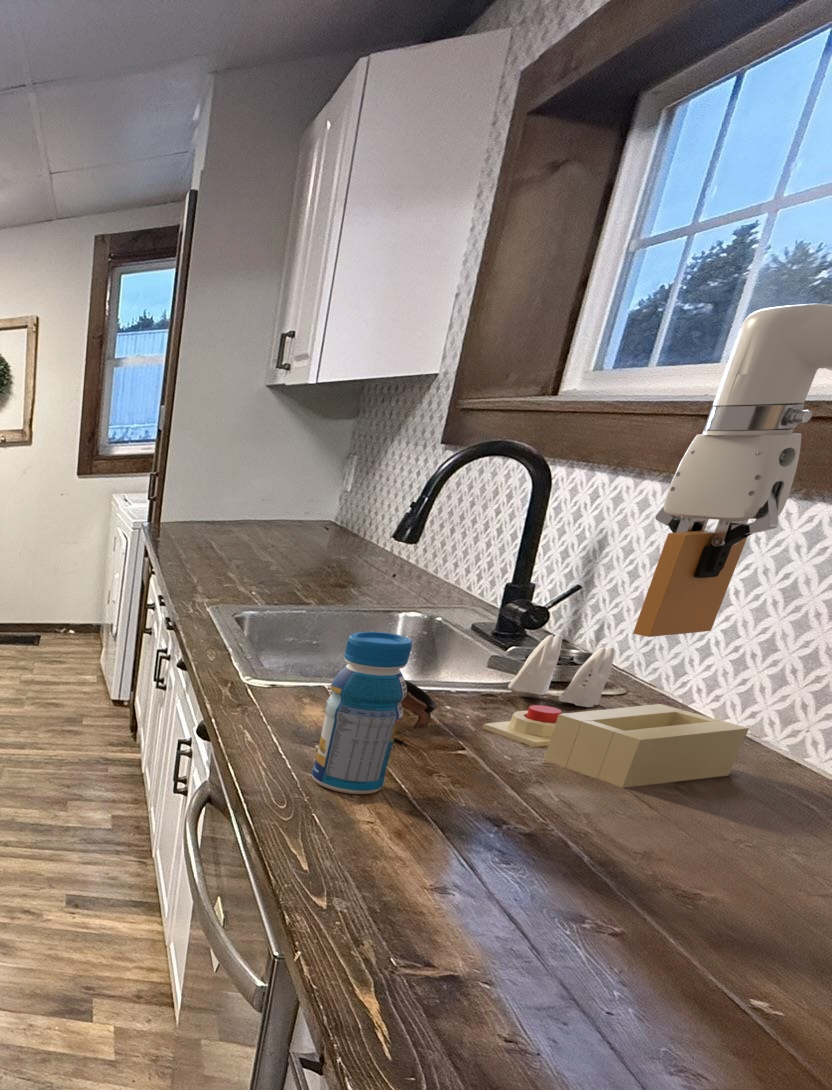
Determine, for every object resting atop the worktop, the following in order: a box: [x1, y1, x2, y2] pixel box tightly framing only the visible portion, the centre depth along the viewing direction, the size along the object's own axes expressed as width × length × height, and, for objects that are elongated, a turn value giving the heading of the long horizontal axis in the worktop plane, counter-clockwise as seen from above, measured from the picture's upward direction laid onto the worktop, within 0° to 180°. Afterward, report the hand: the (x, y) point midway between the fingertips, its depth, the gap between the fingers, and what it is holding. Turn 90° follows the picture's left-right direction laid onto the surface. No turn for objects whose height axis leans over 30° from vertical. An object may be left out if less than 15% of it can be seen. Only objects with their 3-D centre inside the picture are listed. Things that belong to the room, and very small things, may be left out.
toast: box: [632, 529, 748, 638], centre depth 107 cm, size 10×2×13 cm, turn 101°
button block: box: [482, 710, 556, 748], centre depth 120 cm, size 10×8×4 cm
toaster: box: [543, 703, 750, 788], centre depth 107 cm, size 16×10×8 cm, turn 99°
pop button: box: [526, 704, 563, 723], centre depth 119 cm, size 4×4×2 cm
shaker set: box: [507, 633, 616, 708], centre depth 135 cm, size 12×4×11 cm, turn 52°
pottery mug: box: [401, 679, 438, 728], centre depth 128 cm, size 12×10×8 cm
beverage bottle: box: [311, 631, 413, 795], centre depth 106 cm, size 8×8×20 cm
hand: (693, 574), depth 106 cm, fingers closed on toast, 2 cm apart
